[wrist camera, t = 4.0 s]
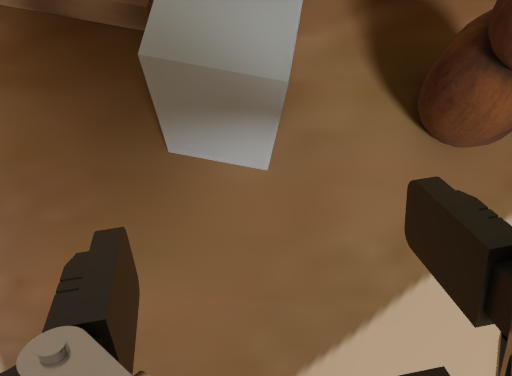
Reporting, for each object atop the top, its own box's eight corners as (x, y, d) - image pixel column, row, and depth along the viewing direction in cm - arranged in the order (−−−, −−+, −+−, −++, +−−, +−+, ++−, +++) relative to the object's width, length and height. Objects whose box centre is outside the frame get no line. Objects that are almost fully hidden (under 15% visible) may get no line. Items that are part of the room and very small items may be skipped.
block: (282, 83, 29) (309, -38, 20) (267, 170, 28) (288, 82, 18) (190, 66, 29) (172, -63, 20) (168, 151, 28) (137, 54, 18)
